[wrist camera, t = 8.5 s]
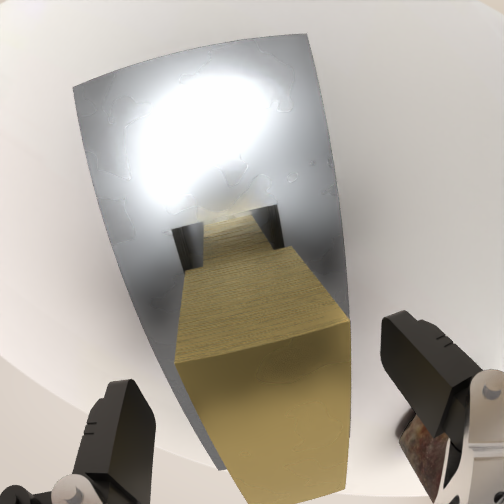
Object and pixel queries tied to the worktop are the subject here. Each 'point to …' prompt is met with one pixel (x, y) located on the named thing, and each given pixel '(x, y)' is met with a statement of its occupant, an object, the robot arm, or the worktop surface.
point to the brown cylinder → (425, 455)
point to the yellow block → (266, 365)
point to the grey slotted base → (210, 171)
